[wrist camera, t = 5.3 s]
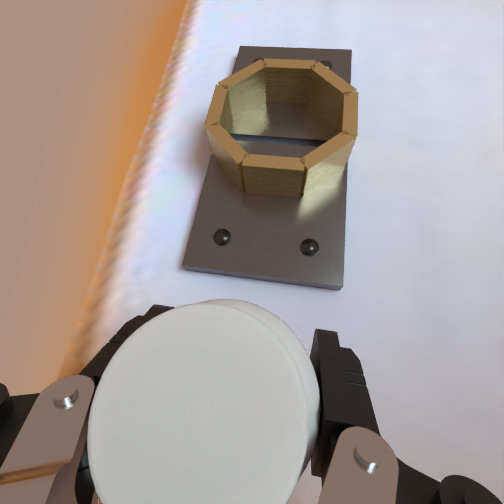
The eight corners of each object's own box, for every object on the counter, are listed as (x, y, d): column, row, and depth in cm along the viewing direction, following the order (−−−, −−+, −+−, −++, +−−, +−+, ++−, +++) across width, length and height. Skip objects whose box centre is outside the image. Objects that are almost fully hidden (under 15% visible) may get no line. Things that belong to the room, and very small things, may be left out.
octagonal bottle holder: (241, 56, 23) (236, 9, 20) (348, 60, 22) (361, 11, 19) (186, 270, 16) (167, 248, 13) (339, 290, 15) (356, 271, 12)
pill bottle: (299, 449, 13) (371, 659, 4) (184, 443, 13) (-12, 620, 4) (296, 327, 15) (336, 268, 6) (196, 325, 15) (84, 266, 6)
